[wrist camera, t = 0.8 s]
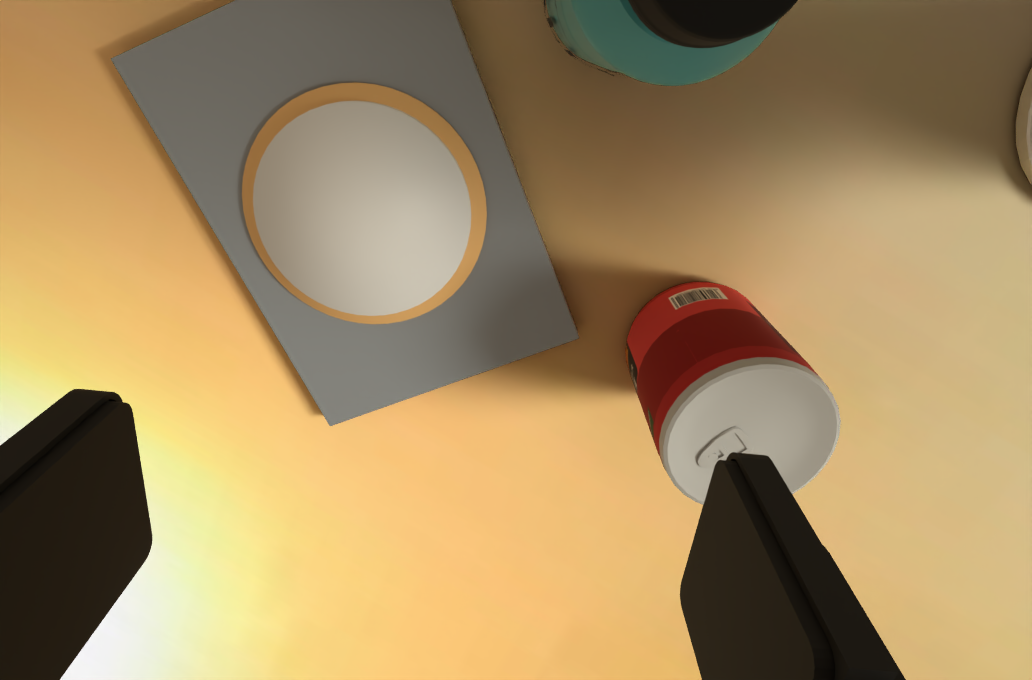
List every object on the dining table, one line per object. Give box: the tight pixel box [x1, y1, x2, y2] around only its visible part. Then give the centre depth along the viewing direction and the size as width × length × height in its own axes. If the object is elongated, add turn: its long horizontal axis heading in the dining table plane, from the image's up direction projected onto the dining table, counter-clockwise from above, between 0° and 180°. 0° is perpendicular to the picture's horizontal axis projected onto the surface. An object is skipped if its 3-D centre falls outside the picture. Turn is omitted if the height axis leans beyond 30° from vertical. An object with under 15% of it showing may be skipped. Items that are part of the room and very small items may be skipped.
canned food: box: [626, 282, 841, 505], centre depth 34 cm, size 8×8×11 cm
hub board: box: [111, 0, 579, 426], centre depth 34 cm, size 16×22×2 cm
